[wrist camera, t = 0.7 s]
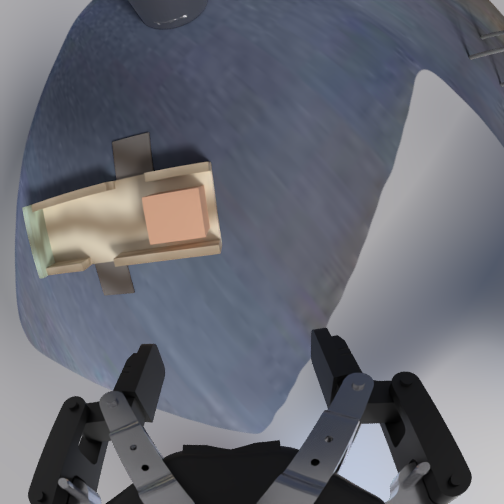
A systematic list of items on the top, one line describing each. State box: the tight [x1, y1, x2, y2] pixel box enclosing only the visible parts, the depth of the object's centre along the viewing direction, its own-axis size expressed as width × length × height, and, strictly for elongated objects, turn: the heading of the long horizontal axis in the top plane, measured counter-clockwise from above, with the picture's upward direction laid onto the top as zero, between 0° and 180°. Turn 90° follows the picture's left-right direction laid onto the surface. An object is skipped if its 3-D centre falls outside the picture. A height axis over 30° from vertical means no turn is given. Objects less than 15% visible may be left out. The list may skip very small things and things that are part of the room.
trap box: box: [23, 132, 222, 295], centre depth 29 cm, size 20×26×4 cm
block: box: [142, 185, 210, 245], centre depth 28 cm, size 5×6×4 cm
